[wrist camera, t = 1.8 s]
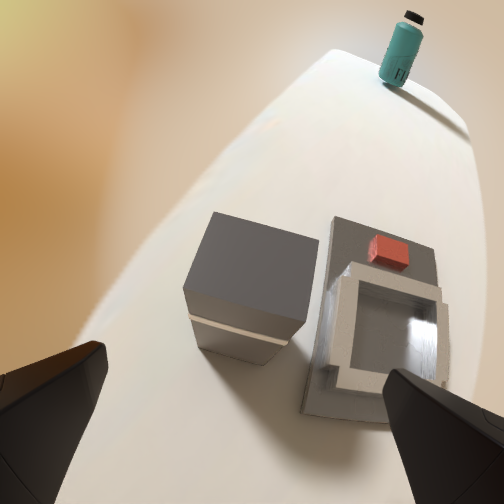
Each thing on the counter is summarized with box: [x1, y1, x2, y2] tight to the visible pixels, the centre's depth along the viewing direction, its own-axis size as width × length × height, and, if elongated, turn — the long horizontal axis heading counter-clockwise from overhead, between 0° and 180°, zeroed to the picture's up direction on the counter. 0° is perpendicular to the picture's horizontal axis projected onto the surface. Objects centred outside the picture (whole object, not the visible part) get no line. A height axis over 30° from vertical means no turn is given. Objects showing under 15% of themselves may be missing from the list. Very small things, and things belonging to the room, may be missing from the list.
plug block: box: [183, 212, 319, 366], centre depth 17 cm, size 4×5×11 cm
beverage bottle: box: [378, 10, 424, 87], centre depth 43 cm, size 6×7×20 cm
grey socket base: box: [300, 216, 449, 423], centre depth 22 cm, size 18×12×3 cm, turn 166°
